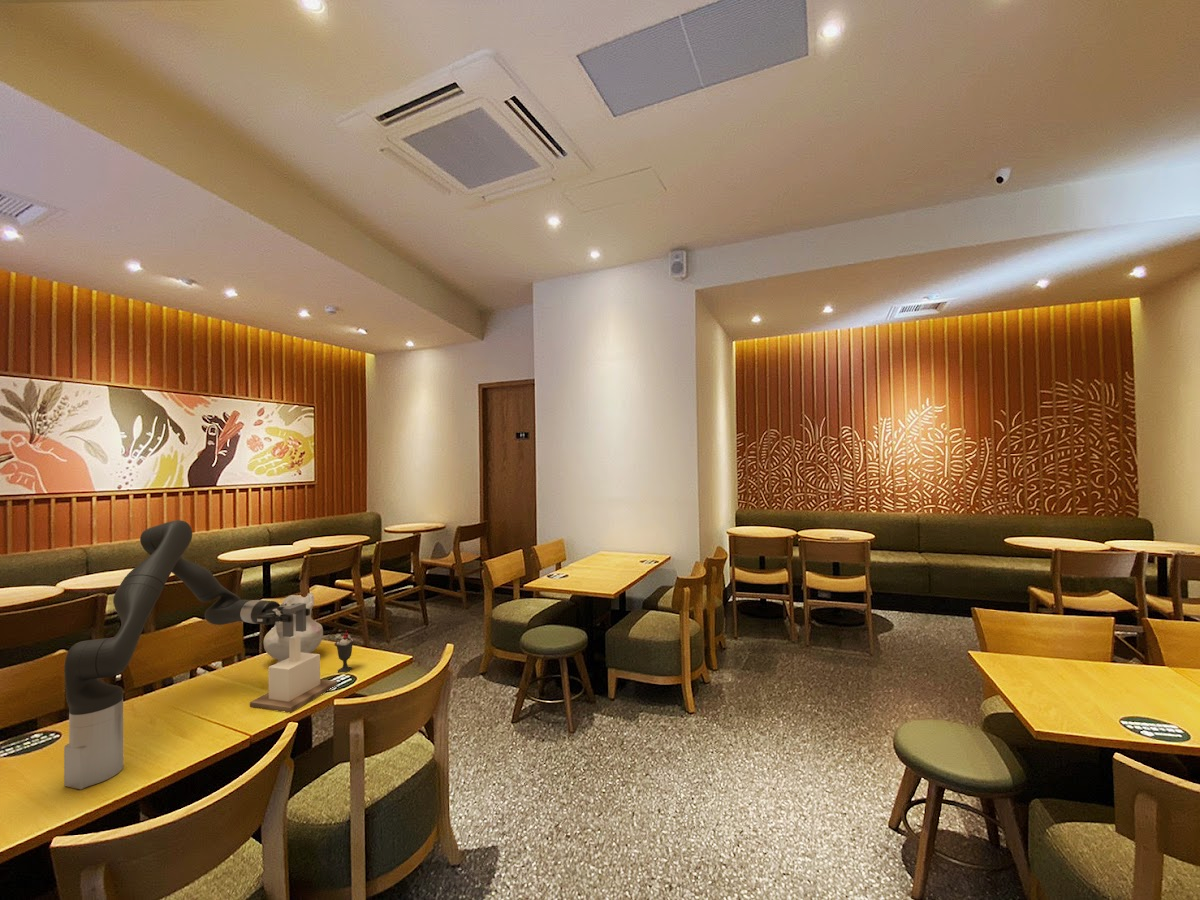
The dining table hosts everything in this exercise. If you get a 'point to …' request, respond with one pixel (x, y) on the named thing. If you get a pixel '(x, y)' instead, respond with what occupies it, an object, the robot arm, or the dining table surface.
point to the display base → (296, 702)
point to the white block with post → (294, 673)
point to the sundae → (344, 650)
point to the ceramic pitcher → (309, 639)
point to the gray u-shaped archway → (300, 619)
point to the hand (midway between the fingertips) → (300, 615)
